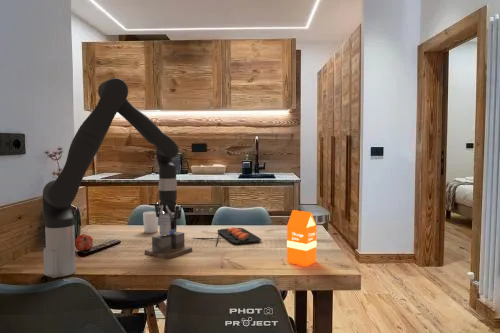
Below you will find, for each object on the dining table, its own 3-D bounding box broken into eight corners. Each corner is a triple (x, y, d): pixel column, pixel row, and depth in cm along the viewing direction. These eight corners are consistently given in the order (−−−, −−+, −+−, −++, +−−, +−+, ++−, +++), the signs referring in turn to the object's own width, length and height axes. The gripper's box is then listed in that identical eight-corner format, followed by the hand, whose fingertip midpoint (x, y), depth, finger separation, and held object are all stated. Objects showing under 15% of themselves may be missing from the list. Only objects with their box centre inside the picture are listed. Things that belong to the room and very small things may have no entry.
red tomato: (72, 255, 166) (73, 246, 159) (74, 240, 170) (75, 230, 163) (91, 255, 169) (93, 246, 162) (92, 240, 173) (94, 230, 166)
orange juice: (297, 257, 156) (297, 208, 155) (316, 261, 151) (317, 211, 149) (286, 262, 150) (286, 211, 149) (306, 266, 145) (306, 214, 143)
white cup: (140, 232, 200) (139, 213, 199) (148, 229, 207) (148, 211, 207) (153, 233, 197) (153, 214, 197) (161, 230, 205) (161, 211, 204)
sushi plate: (263, 243, 179) (263, 235, 179) (200, 250, 168) (200, 241, 168) (241, 230, 206) (241, 223, 206) (186, 235, 195) (186, 228, 195)
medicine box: (169, 235, 159) (169, 214, 158) (159, 234, 160) (159, 214, 159) (176, 231, 166) (176, 211, 166) (167, 230, 167) (167, 211, 167)
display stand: (192, 251, 165) (192, 233, 165) (168, 259, 154) (168, 240, 153) (168, 246, 173) (168, 229, 173) (144, 253, 161) (144, 236, 161)
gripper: (149, 188, 163) (149, 228, 163) (173, 190, 155) (174, 232, 156) (162, 186, 169) (162, 225, 170) (186, 189, 161) (186, 229, 162)
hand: (168, 228), depth 163 cm, fingers closed on medicine box, 5 cm apart
